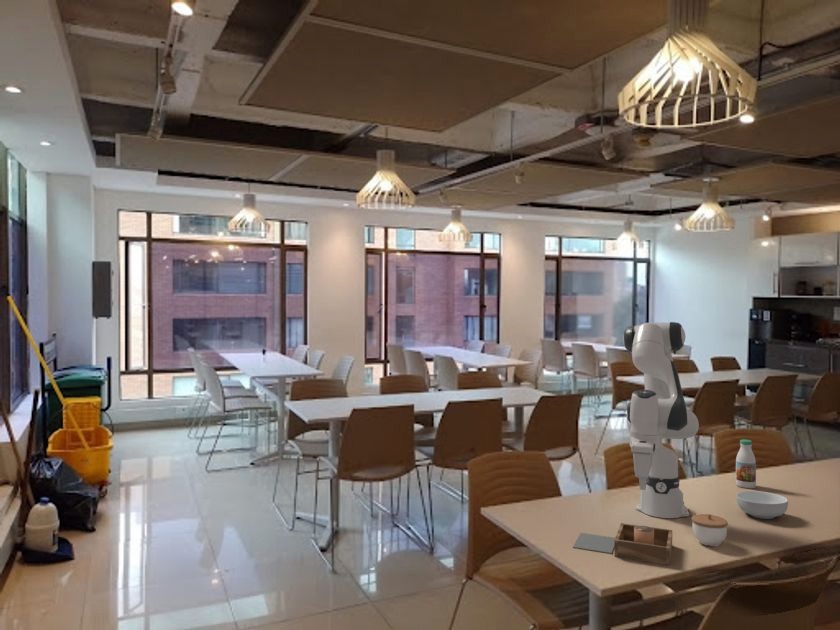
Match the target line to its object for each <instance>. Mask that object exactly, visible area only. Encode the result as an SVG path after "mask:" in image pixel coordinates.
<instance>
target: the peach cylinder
mask: <svg viewBox="0 0 840 630" xmlns="http://www.w3.org/2000/svg"><path fill="white" fill-rule="evenodd" d="M633 542H638V543H645V544H652V545H655V544H654V529H653V528H651V526H647V525H639V526H635V527H634V541H633Z"/></svg>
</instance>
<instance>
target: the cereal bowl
mask: <svg viewBox="0 0 840 630" xmlns="http://www.w3.org/2000/svg"><path fill="white" fill-rule="evenodd" d="M735 497H736V503H737V505H738V507H739V508H740V510H741V511H742V512H744V513H747V514H749V515H750V516H751V517H753V518H757V519H761V520H772V519H775V517H781V516H782V515H784V514H785V513H787V510H788V508H789V506H788V505H789V499H787V498H786V497H785V496H783V495H780V494H776V493H772V492H766V491H758V490H757V491H756V490H746V491H740V492H737V493H736V495H735Z"/></svg>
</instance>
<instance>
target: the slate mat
mask: <svg viewBox="0 0 840 630" xmlns="http://www.w3.org/2000/svg"><path fill="white" fill-rule="evenodd" d="M614 540H615V537H613V536H611V537H610V536H606V535H599V534H592V533H585V532H580V534H579V535H578V536H577V539H576V541H575V543H574V544H573V546H572V548H573V549H577V548H578V549H579V550H585V551H591V552H592V551H593V552H598V553H605V554H610V555H612V554H613V553H614V552H613V551H614Z"/></svg>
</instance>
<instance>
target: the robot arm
mask: <svg viewBox="0 0 840 630" xmlns="http://www.w3.org/2000/svg"><path fill="white" fill-rule="evenodd" d="M685 342H686V332H685V329H684V327H683V325H682V324H681V323H680V322H674V321H670V322H644V323H641V324H637V325H635V324H634V325H631V326H628V327H626V328H625V329H624V331H623V335H622V343H623V345H624V348H625V350H627V351H628V353H631V356H632V357H631V358H632V363H633V365H634V367H635V368H636V369H637V371H640V372H641V373H643V378H644V389H640V390H639V389H638V390H635V391H633V392H632V394H631V398H630V402H628V403H627V405H626V411H627V412H626V416H627V417H626V418H627V419H626V426H627V430H628V432H629V447H630V451H631V452H632V456H633V458H632V459H633V469H634V475H635V477H636V478H638V482H639V490H640V502H639V503H638V504H637V505H636V506H635V511H639V512H642V513H643V514H645V515H648V516H652V517H656V518H660V519H662V518H663V519H678V518H682V517H683V518H684V517H685V518H686V517H690V512H689V511H688V508H687V507H686V506H685V502H684V492H683V491H682V490H681V489H680V488H679V487H680V476H679V457H678V455H677V453H676V452H675V451H673V450H672V449H670V448H669V447H666V446H664V444H663V440H664V439H665V440H667V439H668V440H683V439H689V438H693V437H695V436H696V435H697V433H698V431H699V428H700V427H699V426H700V424H699V419H698V417H697V415H696V414H695V413H694V412H693V411H691V410H690V409H688V407H687V404H686V401H685V397H684V394H683V389H682V385H681V380H680V376H679V373H678V368H677V366H676V364H675V362H674V359H673V355H675V354H677V352H678V351H680V350H681V349H682V348H683V347H684V345H685ZM672 353H673V355H672Z"/></svg>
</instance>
